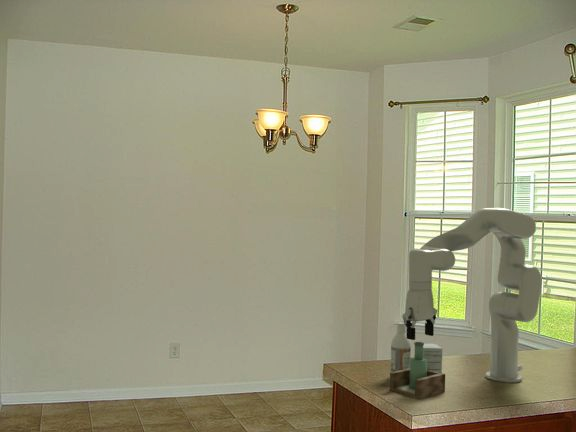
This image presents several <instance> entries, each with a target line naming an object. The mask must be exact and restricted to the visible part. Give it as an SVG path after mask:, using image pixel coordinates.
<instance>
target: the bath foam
mask: <svg viewBox="0 0 576 432" xmlns="http://www.w3.org/2000/svg"><path fill="white" fill-rule="evenodd" d="M396 326H397V327H396V332H397V333H396V334H395V335H394V337H393V338H392V340H391V345H390V371H389V373H390V372H395V371H399V370H404V369H408V368H410V358H411V353H412V352H411V351H412V350H411V348H412V345H411V341H410V339H407V333H406V329H407V327H406V326H405V323H404V322H397V323H396Z"/></svg>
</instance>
